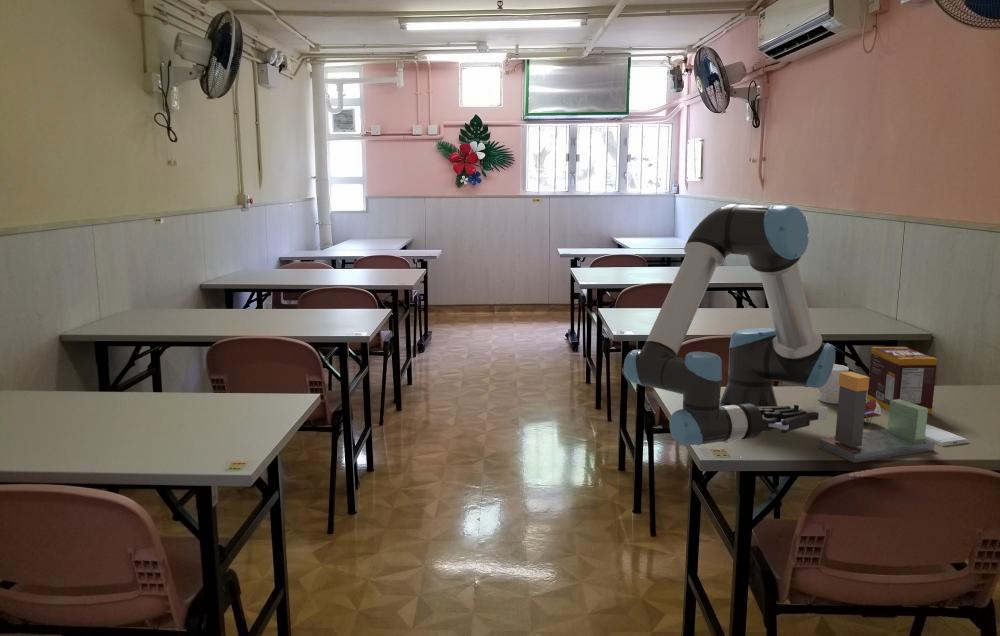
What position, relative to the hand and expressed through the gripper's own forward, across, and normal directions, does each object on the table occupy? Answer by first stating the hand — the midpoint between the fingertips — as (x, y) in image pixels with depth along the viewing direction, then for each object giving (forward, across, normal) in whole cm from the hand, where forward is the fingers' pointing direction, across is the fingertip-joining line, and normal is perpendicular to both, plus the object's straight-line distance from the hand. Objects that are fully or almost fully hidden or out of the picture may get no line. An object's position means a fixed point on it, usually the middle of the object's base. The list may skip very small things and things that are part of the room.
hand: (824, 412), depth 169 cm
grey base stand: (+16, 0, -10) cm, 19 cm away
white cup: (+36, -35, -10) cm, 51 cm away
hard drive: (+37, -2, -11) cm, 39 cm away
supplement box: (+50, -25, -10) cm, 56 cm away
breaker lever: (+8, 0, -8) cm, 11 cm away
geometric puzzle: (+29, -16, -10) cm, 35 cm away
